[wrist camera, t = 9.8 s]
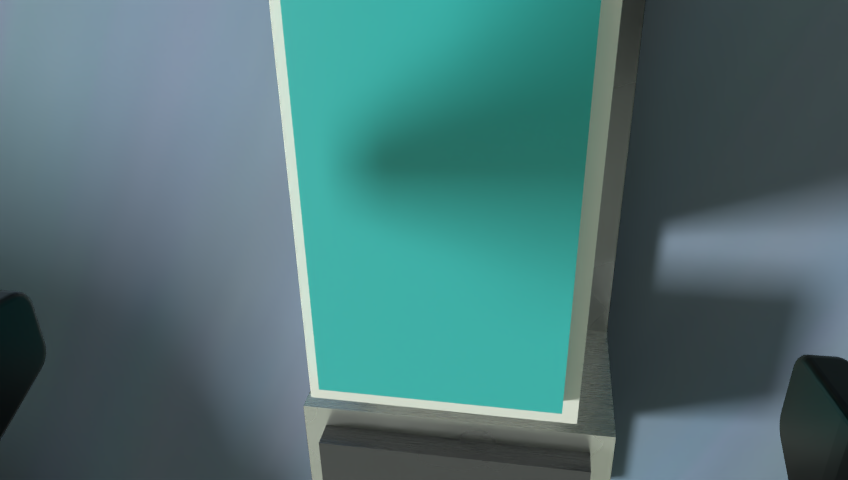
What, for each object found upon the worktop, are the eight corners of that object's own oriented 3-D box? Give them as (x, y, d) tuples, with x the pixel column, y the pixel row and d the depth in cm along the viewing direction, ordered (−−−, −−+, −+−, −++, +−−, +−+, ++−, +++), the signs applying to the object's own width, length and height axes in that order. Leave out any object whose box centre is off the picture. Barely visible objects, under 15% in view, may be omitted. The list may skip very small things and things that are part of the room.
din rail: (715, -666, 12) (827, -1049, 7) (584, 479, 23) (590, 653, 18) (296, -615, 13) (125, -912, 8) (369, 456, 25) (319, 613, 19)
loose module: (605, -83, 15) (629, -43, 9) (573, 263, 19) (577, 437, 13) (364, -82, 16) (254, -46, 10) (379, 249, 19) (306, 409, 14)
